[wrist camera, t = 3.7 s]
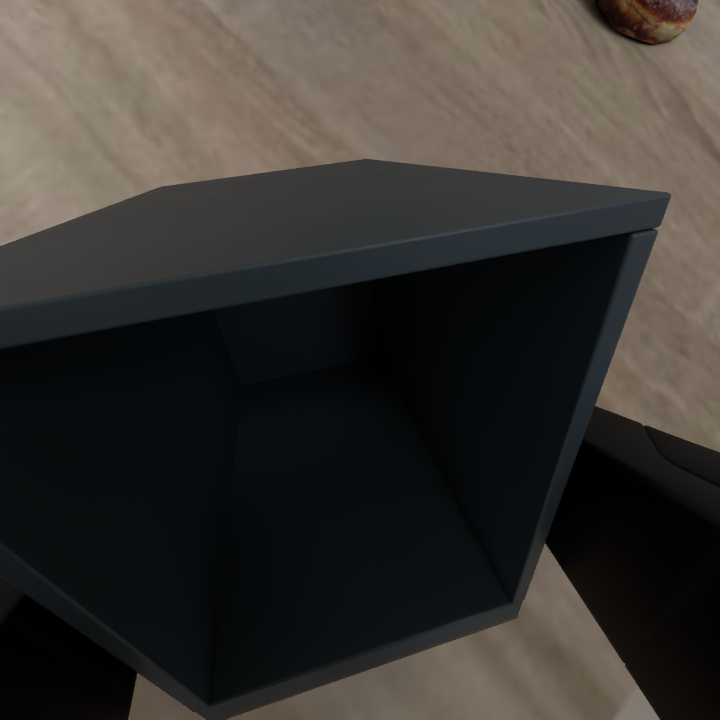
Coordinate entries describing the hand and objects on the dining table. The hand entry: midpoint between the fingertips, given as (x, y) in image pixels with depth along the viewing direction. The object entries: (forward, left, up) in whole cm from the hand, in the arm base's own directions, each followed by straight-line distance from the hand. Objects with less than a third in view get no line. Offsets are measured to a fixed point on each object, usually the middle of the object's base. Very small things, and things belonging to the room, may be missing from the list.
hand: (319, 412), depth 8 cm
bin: (+2, -1, -9) cm, 9 cm away
